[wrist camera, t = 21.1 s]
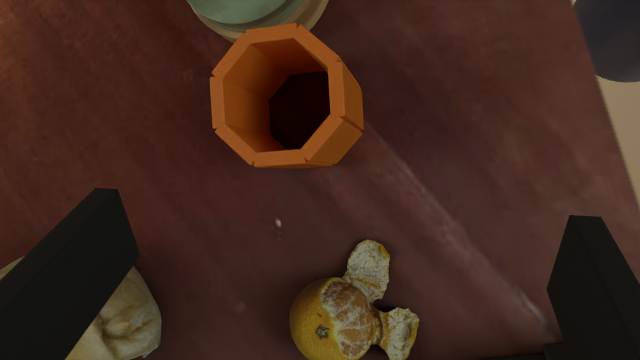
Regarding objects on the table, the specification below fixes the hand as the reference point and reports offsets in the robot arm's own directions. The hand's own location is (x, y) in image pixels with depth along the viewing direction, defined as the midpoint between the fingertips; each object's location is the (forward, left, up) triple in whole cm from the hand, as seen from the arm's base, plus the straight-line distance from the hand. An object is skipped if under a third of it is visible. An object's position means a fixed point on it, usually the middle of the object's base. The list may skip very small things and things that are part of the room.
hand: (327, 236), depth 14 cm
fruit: (-4, +7, -19) cm, 20 cm away
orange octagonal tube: (+8, -1, -18) cm, 20 cm away
